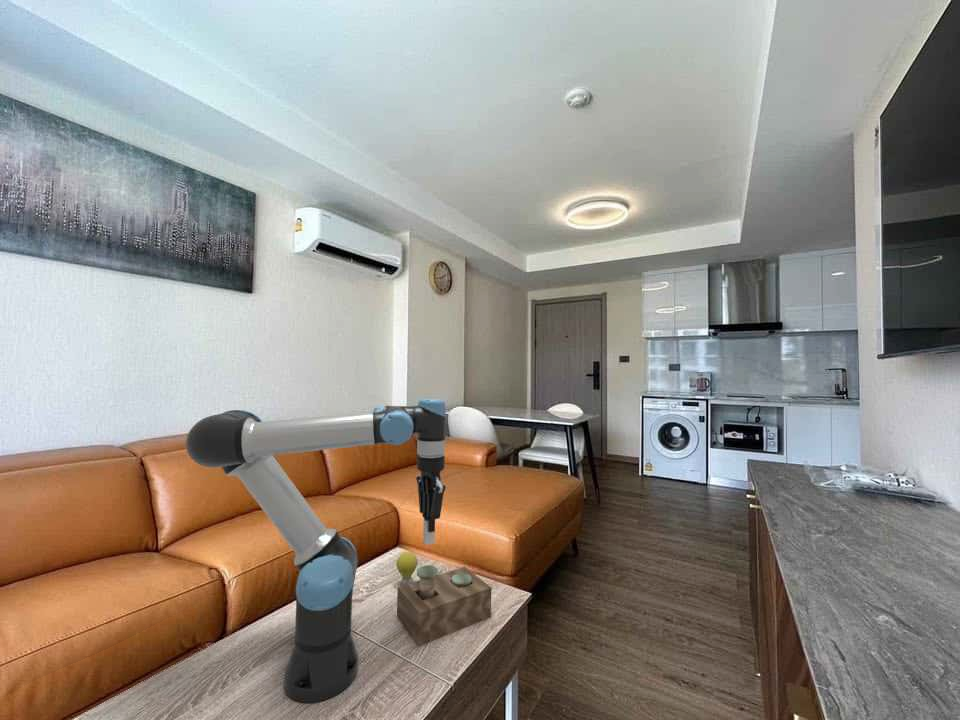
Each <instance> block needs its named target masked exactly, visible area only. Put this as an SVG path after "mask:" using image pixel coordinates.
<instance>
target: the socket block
mask: <svg viewBox="0 0 960 720" xmlns="http://www.w3.org/2000/svg"><path fill="white" fill-rule="evenodd" d="M457 573H466V574H469V575H470V576H471V583H470V584H468V585H467V586H464V587H461V588H458V587H457V586H455V585H454V584H453V583H452V576H453V575H455V574H457ZM419 591H420V579H419V580H417V581H413V582H410V583H409V584H406V585H403V584H402V585H400V586H398V587H397V593H396V594H397V595H396V597H397V601H396V618H397V619H398V620H399V622H400V624H401V625H403V627H404V629H405V631H407V632H408V634H409V635H410V636H411V638H412V639H413V640H414V642H415V643H416V645H417V646H418V647H420V646H422V645H426V644H427V643H429V642H432V641H434V640H437V639H439V638H443V637H444V636H447V635H449V634H451V633H452V634H453V633H454V632H457V631H459V630H461V629H462V630H463V629H464V628H467V627H469V626H472V625H474V624H477V623H479V622H482V621H483V620H484V621H485V620H486V619H489V618H492V587H491V586H490V585H489V584H488V583H486V582H485V581H484V580H483V579H481V578H480V577H479V576H478V575H476V574H475V573H474V572H473V571H472V570H470V569H468V568H467V567H466V566H463V567H459V568H455V569H452V570H450V571H446V572H443V573H440V574H439V573H438V574H437V576H435V586H434V597H431V598H428V599H425V600H422V599H421V598H420V597H419Z"/></svg>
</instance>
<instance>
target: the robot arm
mask: <svg viewBox="0 0 960 720" xmlns="http://www.w3.org/2000/svg"><path fill="white" fill-rule="evenodd" d="M446 412H447V411H446V402H445V400H443V399H441V398H420V399H418V403H417V405H413V406H412V405H411V406H409V405H404V406H403V405H380V406H379V405H378V406H375V407H374V408H373V412H372V411H371V412H361V413H350V414H340V415H339V414H338V415H337V414H336V415H328V416H327V415H326V416H313V417H303V418H292V419H291V418H290V419H289V418H288V419H279V420H267V421H263V420H262V419H261V417H260V416H258V415H257V414H255V413H253V412H251V411H248V410H244V409H243V410H241V409H233V410H228V411H224V412H222V413H218V414H212V415H209V416H206V417H204V418H202V419H201V420H199V421H197V422H196V423H195V424H194V425H193V426H192V427H191V428H190V429H189V432H188V434H187V435H186V439H185V449H186V452H187V454H188V456H189V457H190V459H191V460H192V461H193V462H195V463H196V464H198V465H200V466H202V467H205V468H214V469H215V468H216V469H217V468H221V469H222V471H223V472H224V473H225V474H226V476H227V477H229V476H230V477H235V478H236V477H237V478H238V479H239V480H240V482H241V483H242V484H243V486H244V487H245V488H246V489H247V491H248V492H249V494H250V495H251V496H252V498H253V499H254V500H255V502H256V503H257V504H258V506H260V508H261V509H262V511H263V512H264V513H265V515H266V516H267V517H268V519H269V520H270V521H271V523H272V524H273V525H274V527H275V528H276V529H277V531H278V532H279V533H280V535H281V536H282V537H283V539H284V540H285V541H286V543H287V544H288V545H289V547H290V548H291V549H292V551H293V552H294V553H295V557H294V561H293V562H294V566H296V568H297V570H298V571H299V573H298V577H297V581H296V585H295V596H296V599H295V600H296V603H295V622H294V626H295V629H294V644H293V647H292V648H293V649H292V650H291V653H290V656H289V659H288V662H287V664H286V667H285V672H284V675H283V676H284V678H283V687H284V688H283V689H284V692H285V693H286V696H288V697H289V698H290V699H292V700H294V701H297V702H300V703H317V702H321V701H325V700H328V699H330V698H333V697H335V696H336V695H338V694H340V693H341V692H342V691H344V690H345V689H347V688H348V687H349V686H350V685H351V684H352V683H353V681H354V679H355V677H356V676H357V674H358V669H359V668H358V667H359V656H358V652H357V651H358V650H357V648H356V645H355V642H354V639H353V636H352V615H353V613H352V610H353V593H354V585H355V579H356V573H357V569H358V561H359V560H358V553H357V550H356V547H355V545H353V542H351V541H350V540H349V539H348V538H346V537H344V536H341V535H340V534H339V532H338V531H337V530H336V529H335V528H327V527H326V526H325V525H324V523H323V522H322V520H321V519H320V518H319V516H318V515H317V513H316V512H315V511H314V510H313V509H312V507H311V506H310V505H309V502H308V501H307V500H306V499H305V497H304V496H303V495H302V494H301V492H300V491H299V489H298V488H297V487H296V485H295V484H294V482H293V481H292V480H291V479H290V478H289V476H288V475H287V473H286V472H285V470H284V469H283V467H281V465H280V463H279V462H278V461H277V460H276V458H275V457H274V456H278V455H286V454H289V455H290V454H297V453H304V452H305V453H306V452H315V451H324V450H333V449H342V448H343V449H344V448H352V447H360V446H370V445H382V444H384V445H385V444H389V445H392V446H400V445H403V444H404V443H407V441H409V439H410V438H411V437H412V436H413V434H414V435H415V434H417V440H416V441H417V443H416V445H417V446H416V447H417V450H416V452H417V453H416V454H417V455H418V456H416V457H417V458H416V469H417V470H418V471H419V472H420V475H419V476H416V477H415V478H416V482H417V483H416V484H417V492H418V504H419V505H418V506H419V507H418V508H419V513H420V514H422V515H421V516H422V518H423V529H422V530H423V533H422V534H423V536H422V537H423V538H422V543H423V544H424V545H426V546H427V545H430V544H434V543H435V539H436V538H435V537H436V535H435V534H436V533H435V532H436V531H435V530H436V520H439V519H440V518H441V513H442V508H443V507H442V506H443V499H444V493H445V491H446V485H445V484H442V483H441V481H442V479H441V472H442V471H444V470H445V463H446V462H445V451H446V447H445V445H446V422H447V421H446V419H447V418H446V417H447V414H446Z"/></svg>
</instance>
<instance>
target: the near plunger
mask: <svg viewBox="0 0 960 720" xmlns="http://www.w3.org/2000/svg"><path fill="white" fill-rule="evenodd" d="M437 575H439V569H438V568H437V567H436V566H434V565H430V564H429V565H422V566H420V567H418V568H416V576H417V577H418V578H419V580H420V591H419V597H420V598H421V599H422V600H425V599H428V598H431V597H434V586H435V576H437Z"/></svg>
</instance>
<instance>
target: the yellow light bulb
mask: <svg viewBox="0 0 960 720" xmlns="http://www.w3.org/2000/svg"><path fill="white" fill-rule="evenodd" d="M418 564H419V563H418V558H417V556H416V554H415V553H413V552H412V551H404V552H402V553H401V554H400V555H399V556H398V558H397V560H396V564H395V565H396V568H397V570H398V573H399V574H400V576H401V583H402V586H403V585H406V584H409V583H412V581H413V579H412V578H413V577H412V575H413V574H414V573H415V570H417V567H418Z"/></svg>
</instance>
